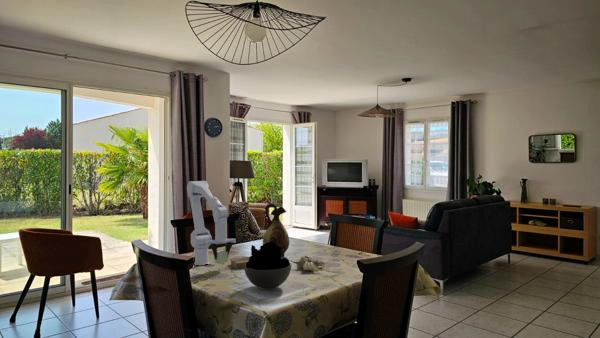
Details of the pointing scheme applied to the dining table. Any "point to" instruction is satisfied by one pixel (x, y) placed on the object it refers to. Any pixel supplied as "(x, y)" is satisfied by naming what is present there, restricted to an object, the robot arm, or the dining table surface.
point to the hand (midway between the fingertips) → (221, 258)
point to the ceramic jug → (276, 229)
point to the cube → (222, 256)
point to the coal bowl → (267, 266)
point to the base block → (239, 262)
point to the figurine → (310, 264)
